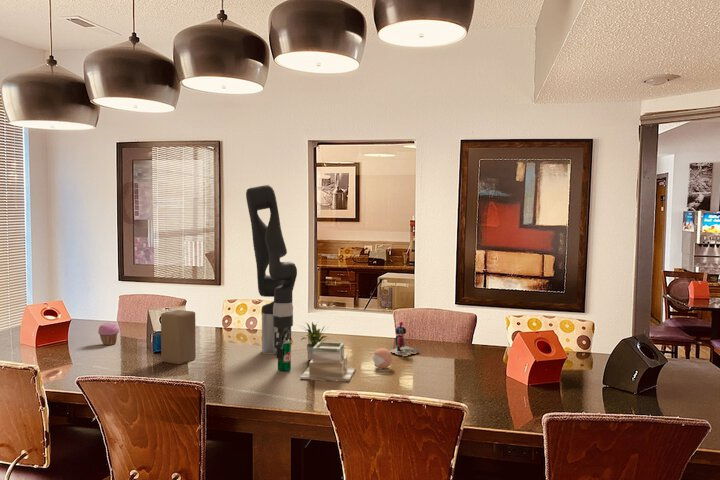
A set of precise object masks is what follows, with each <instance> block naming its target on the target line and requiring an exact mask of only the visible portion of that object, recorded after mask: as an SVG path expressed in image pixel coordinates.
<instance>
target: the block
mask: <svg viewBox="0 0 720 480" xmlns="http://www.w3.org/2000/svg"><path fill="white" fill-rule="evenodd" d="M196 344H197V342H196V312H195V311H191V310H183V309H175V310H171V311H165V312H163V313H161V314H160V347H161V349H160V350H161V351H160V353H161V354H160V356H161V357H160V358H161V359H160V360H161V362H162V363H166V362H167V364H174V365H182V364H185V363H188V362H190V361H193V360H196V358H197V357H196V356H197V355H196V353H197V352H196V350H197V349H196Z"/></svg>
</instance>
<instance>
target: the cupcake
mask: <svg viewBox="0 0 720 480" xmlns="http://www.w3.org/2000/svg"><path fill="white" fill-rule="evenodd" d="M97 331H98V332H97V333H98V335H99V338H100V340H101V342H102V344H103V345H107V346H111V345H115V344H116V343H117V339H118V333H120V326H118V325H117V323H116V322H106V323H105V322H104V323H103V324H101V325H100V326H99V327H98V330H97Z"/></svg>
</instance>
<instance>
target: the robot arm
mask: <svg viewBox="0 0 720 480" xmlns="http://www.w3.org/2000/svg"><path fill="white" fill-rule="evenodd" d="M245 197H246V199H245V200H246V204H247V209H248V215H249V221H250V226H251V233H252V235H251V236H252V245H253V251H254V256H255V263H256V275H257V290H258V294H259V295H260V296H261V297H266V298H267V297H268V298H273V300H272V301H271V302H270V303H266V304H264V305H262V306H261V353H263V354H267V355H268V354H269V355H274V354H276V359H277V360H278V359H282V358H283V345H284V344H285V341H286V339H290V341H292V327H293V326H294V305H293V292H294V288H295V284H296V280H297V276H298V269H297V268H298V267H297V266H296V264H295V263H294V262H293V261H281V258H283V257H285V256H286V255H287V254H288V250H287V249H288V248H287V246H286V244H285V239H284V235H283V232H282V227H281V221H280V213H279V209H278V201H277V197H276V191H275V190H274V188H273V186H272V185H271V184H264V185H260V186H254V187H250V188H247V189H246V192H245ZM266 209H269V211H270V212H269V213H270V214H269V215H270V217H269V221H268V225H267V224H266V223H265V222H264V221H263V220H262V219H261V217H260V216H259V213H258V211H261V210H262V211H263V210H266ZM267 269H268V271H269V272H268V273H269V274H268V275H267V274H266V273H267V272H266V271H267ZM278 344H279V345H278Z"/></svg>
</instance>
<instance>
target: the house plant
mask: <svg viewBox="0 0 720 480" xmlns="http://www.w3.org/2000/svg"><path fill="white" fill-rule="evenodd" d="M318 322H319V321H317V323H316V324H315V323H314V322H313V321H312V322H311V327H310V324H309V323H308V322H306V321H305V322H304V323H305V324H306V325H307V327H308V328H306V327H304V326H303V325H301V328H302V327H303V330H304V331H305V332H307V334H306V336H307V339H308V340H309V343H308V344H306V350H307V355H308V356H307V357H308V361H309V360H312V359H313V347H314V346H315V345H316V344H317V343H318V342H325V341H326V340H327V339H328V340H330V338H328V336H326V335H323V334H325V333H324V332H325V331H326V330H327V329H328V327H327V328H325V326H326V325H324V326H323V327H322V329H321V328H318V329H317V325H318ZM297 326H299V325H297ZM324 328H325V329H324ZM322 332H323V333H322ZM326 337H327V338H326ZM302 340H306V337H302V338H301V339H300V341H302Z"/></svg>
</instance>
